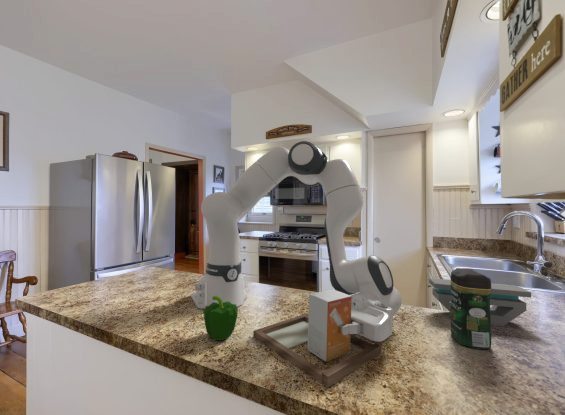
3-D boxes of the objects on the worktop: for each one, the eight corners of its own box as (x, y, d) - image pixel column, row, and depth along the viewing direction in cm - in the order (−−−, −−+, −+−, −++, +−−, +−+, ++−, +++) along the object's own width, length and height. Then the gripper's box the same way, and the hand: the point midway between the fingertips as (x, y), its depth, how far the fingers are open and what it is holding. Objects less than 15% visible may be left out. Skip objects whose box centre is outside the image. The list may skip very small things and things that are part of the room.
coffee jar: (446, 331, 73) (446, 265, 74) (479, 335, 71) (479, 267, 71) (458, 347, 64) (459, 272, 64) (496, 353, 62) (497, 275, 62)
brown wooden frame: (253, 336, 67) (253, 328, 67) (305, 318, 79) (305, 312, 79) (327, 387, 48) (328, 376, 48) (381, 353, 60) (381, 345, 60)
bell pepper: (243, 336, 67) (244, 297, 67) (215, 347, 61) (216, 305, 62) (225, 326, 73) (226, 290, 73) (198, 335, 67) (199, 296, 68)
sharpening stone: (515, 319, 83) (515, 285, 83) (531, 329, 75) (531, 292, 76) (428, 309, 90) (428, 277, 91) (434, 317, 83) (434, 283, 83)
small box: (326, 363, 55) (327, 301, 55) (306, 349, 60) (308, 293, 60) (351, 352, 60) (352, 295, 60) (331, 340, 65) (332, 288, 65)
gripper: (330, 289, 76) (296, 298, 68) (398, 310, 61) (365, 326, 52) (330, 310, 76) (296, 322, 67) (398, 337, 61) (365, 357, 52)
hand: (326, 324), depth 59 cm, fingers closed on small box, 6 cm apart
